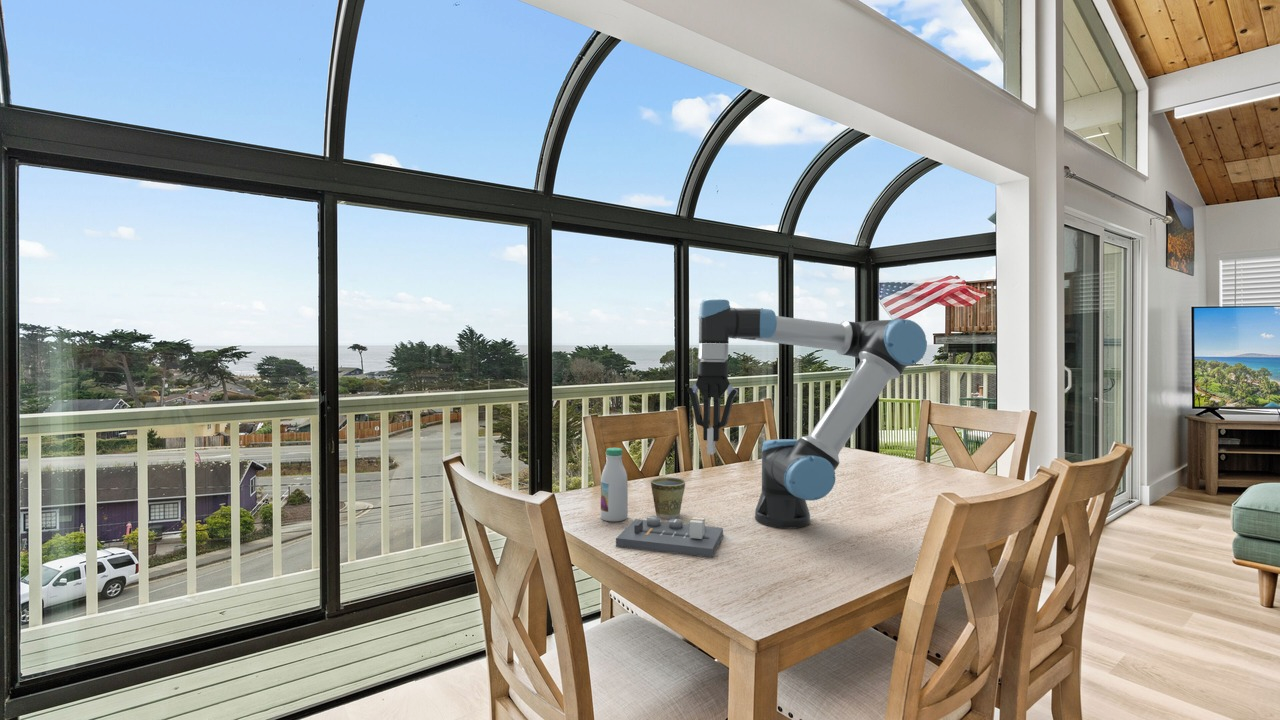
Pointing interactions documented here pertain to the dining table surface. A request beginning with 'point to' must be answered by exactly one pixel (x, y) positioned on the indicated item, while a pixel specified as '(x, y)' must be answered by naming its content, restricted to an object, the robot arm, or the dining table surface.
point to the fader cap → (697, 527)
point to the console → (669, 537)
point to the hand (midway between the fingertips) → (710, 453)
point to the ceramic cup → (667, 496)
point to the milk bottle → (614, 487)
